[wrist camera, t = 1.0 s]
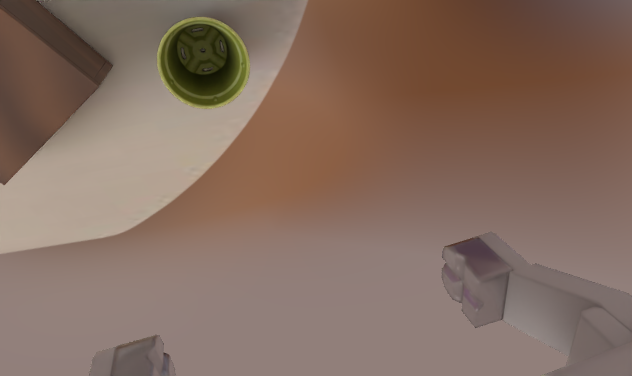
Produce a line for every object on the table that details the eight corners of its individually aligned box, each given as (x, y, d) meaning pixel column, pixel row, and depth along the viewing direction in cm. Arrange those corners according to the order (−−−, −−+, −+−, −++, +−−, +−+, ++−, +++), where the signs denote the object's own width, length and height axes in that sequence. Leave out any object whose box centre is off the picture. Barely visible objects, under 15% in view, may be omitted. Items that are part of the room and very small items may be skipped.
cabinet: (32, 149, 51) (4, 185, 43) (-83, 74, 44) (-143, 100, 36) (112, 65, 49) (99, 86, 41) (4, -26, 42) (-38, -23, 34)
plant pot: (176, 96, 53) (175, 118, 45) (148, 17, 48) (142, 28, 40) (248, 78, 54) (258, 97, 47) (229, 0, 49) (237, 8, 42)
